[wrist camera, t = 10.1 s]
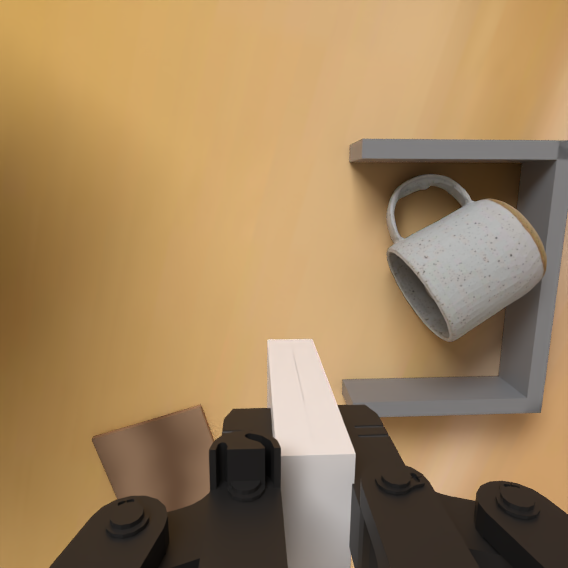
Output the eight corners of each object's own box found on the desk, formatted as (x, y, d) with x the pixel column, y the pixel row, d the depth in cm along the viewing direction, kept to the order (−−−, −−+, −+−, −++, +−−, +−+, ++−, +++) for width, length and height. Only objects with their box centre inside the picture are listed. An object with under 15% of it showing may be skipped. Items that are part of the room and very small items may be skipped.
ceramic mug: (510, 270, 35) (578, 291, 27) (420, 325, 36) (463, 360, 28) (447, 152, 33) (502, 138, 25) (353, 211, 34) (380, 216, 26)
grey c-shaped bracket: (342, 393, 36) (352, 417, 32) (349, 144, 32) (362, 138, 28) (511, 389, 37) (540, 412, 33) (539, 146, 33) (576, 140, 29)
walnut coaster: (134, 523, 38) (131, 531, 37) (96, 432, 36) (91, 439, 35) (234, 493, 38) (234, 501, 37) (201, 401, 36) (200, 407, 35)
